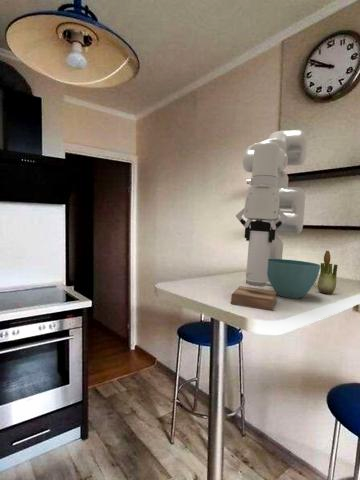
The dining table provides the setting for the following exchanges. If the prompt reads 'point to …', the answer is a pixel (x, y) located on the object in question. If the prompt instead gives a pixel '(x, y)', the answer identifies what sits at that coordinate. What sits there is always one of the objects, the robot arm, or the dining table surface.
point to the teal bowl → (292, 276)
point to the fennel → (325, 261)
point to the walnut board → (254, 298)
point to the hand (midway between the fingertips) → (259, 241)
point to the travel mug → (258, 253)
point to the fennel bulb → (327, 278)
